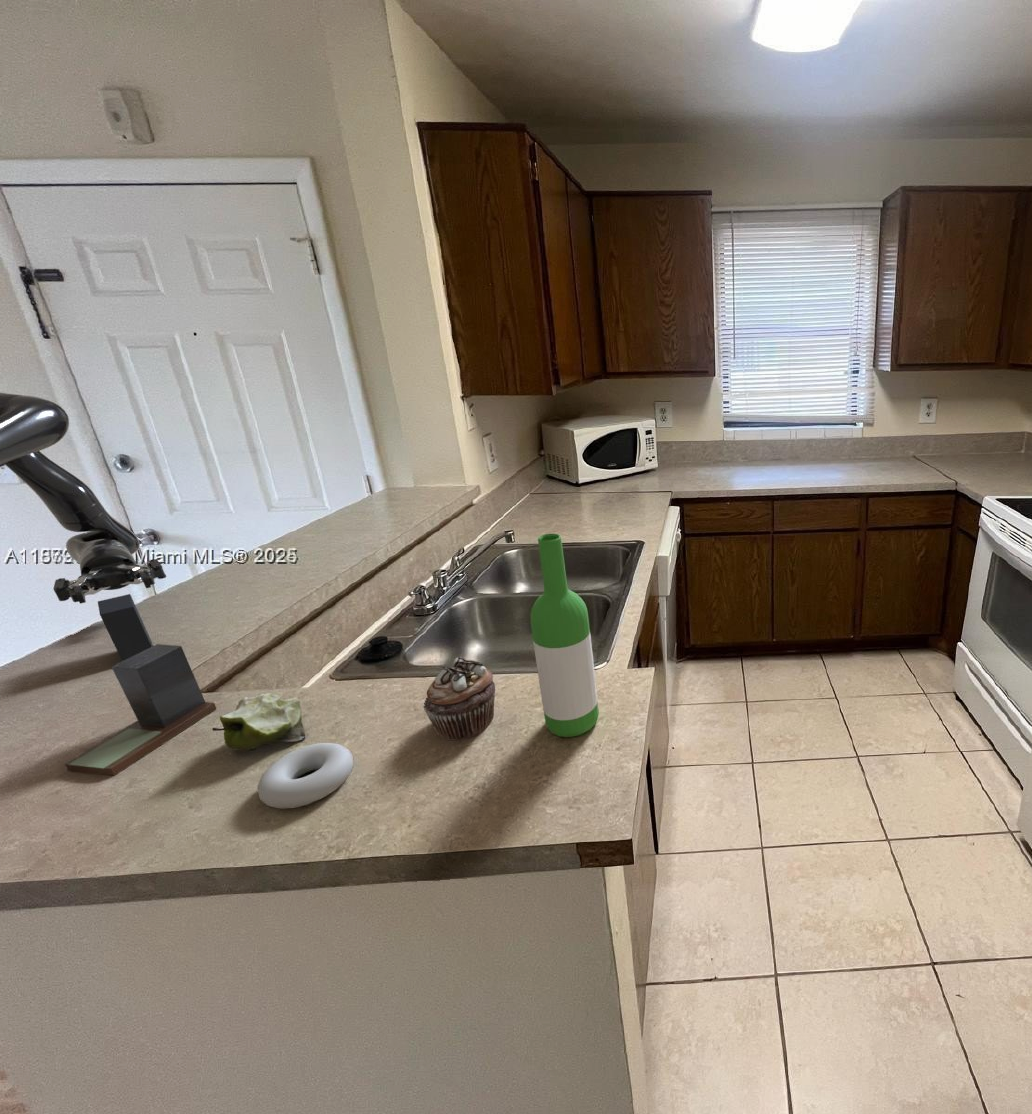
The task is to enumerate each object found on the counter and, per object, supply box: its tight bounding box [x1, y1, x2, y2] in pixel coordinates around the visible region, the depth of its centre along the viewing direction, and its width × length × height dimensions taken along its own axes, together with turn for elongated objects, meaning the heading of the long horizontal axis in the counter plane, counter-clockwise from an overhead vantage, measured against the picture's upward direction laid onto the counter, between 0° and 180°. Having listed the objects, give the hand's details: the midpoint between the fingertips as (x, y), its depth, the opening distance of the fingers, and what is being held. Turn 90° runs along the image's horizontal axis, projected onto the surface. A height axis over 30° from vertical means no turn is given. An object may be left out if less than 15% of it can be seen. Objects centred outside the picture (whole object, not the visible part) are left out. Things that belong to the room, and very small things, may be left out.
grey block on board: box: [64, 643, 217, 776], centre depth 79 cm, size 7×14×11 cm, turn 173°
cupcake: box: [423, 656, 496, 741], centre depth 83 cm, size 10×10×10 cm
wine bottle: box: [530, 533, 600, 738], centre depth 80 cm, size 8×8×30 cm
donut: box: [257, 742, 354, 810], centre depth 73 cm, size 10×3×10 cm
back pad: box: [97, 593, 154, 662], centre depth 99 cm, size 7×4×10 cm, turn 48°
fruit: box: [211, 692, 306, 752], centre depth 80 cm, size 9×9×8 cm
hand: (114, 590), depth 104 cm, fingers open, 8 cm apart
